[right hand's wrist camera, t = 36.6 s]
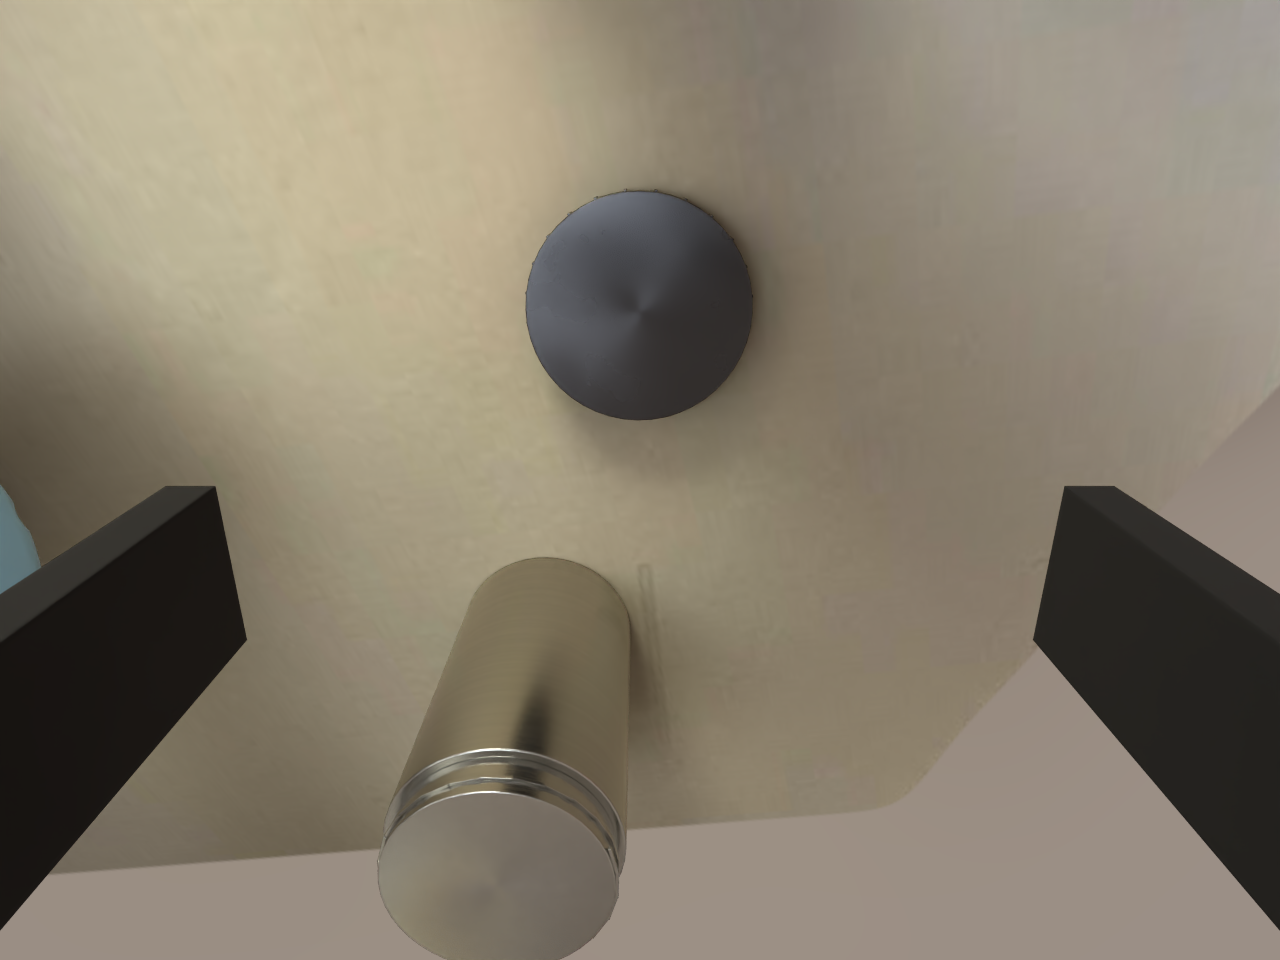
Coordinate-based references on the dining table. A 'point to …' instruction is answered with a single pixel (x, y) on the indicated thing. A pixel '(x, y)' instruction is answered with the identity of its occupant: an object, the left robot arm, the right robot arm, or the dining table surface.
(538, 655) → the jar
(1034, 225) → the dining table surface
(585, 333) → the lid
